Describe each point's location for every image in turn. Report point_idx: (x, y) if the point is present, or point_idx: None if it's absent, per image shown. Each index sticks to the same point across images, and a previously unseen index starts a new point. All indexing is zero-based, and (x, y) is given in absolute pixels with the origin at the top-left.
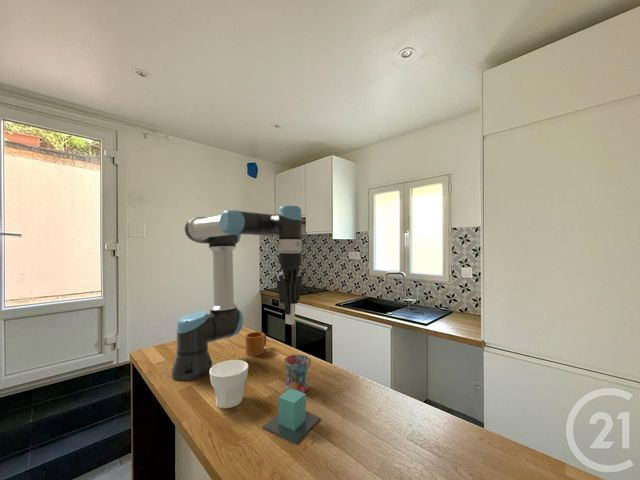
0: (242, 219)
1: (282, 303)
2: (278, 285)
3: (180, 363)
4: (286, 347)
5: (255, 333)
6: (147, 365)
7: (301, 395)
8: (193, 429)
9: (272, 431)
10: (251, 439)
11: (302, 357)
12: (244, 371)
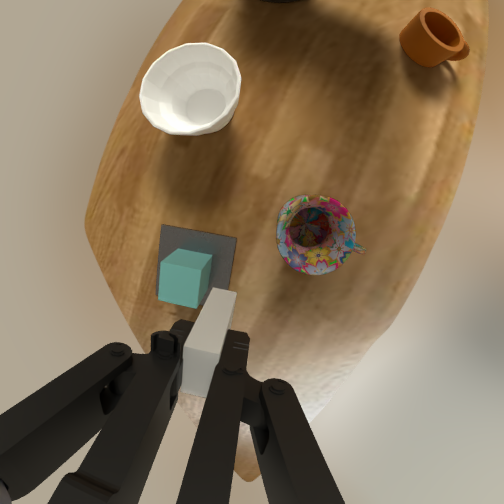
0: None
1: (158, 333)
2: (4, 425)
3: None
4: (475, 113)
5: (452, 27)
6: None
7: (186, 303)
8: (121, 119)
9: (159, 247)
10: (136, 223)
11: (348, 239)
12: (186, 134)
